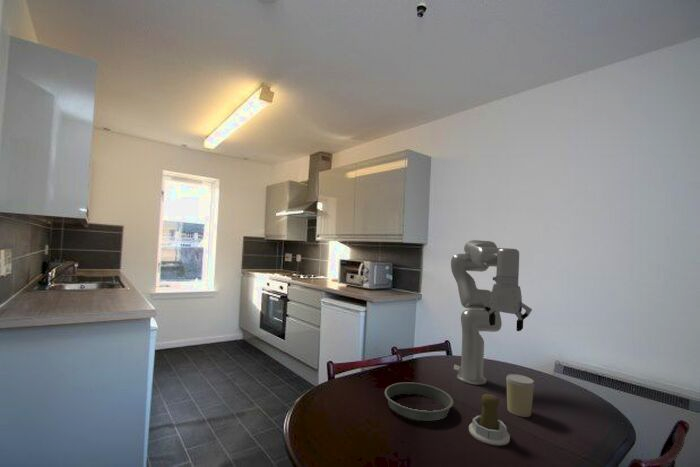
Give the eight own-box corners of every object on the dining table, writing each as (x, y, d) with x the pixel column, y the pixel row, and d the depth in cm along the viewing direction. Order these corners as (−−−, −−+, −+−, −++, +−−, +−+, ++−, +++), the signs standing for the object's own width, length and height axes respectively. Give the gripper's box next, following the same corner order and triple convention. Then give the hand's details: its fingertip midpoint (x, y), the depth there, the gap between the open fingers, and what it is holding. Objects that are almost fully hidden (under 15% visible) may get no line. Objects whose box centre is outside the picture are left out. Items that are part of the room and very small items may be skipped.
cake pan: (464, 409, 123) (465, 397, 123) (430, 433, 105) (431, 419, 105) (407, 387, 139) (408, 376, 140) (370, 405, 121) (371, 392, 122)
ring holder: (461, 432, 106) (462, 421, 106) (479, 420, 114) (479, 410, 114) (500, 450, 97) (500, 438, 98) (516, 436, 106) (516, 425, 106)
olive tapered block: (501, 437, 102) (502, 401, 103) (480, 434, 104) (481, 398, 104) (496, 427, 108) (498, 393, 109) (477, 424, 110) (478, 390, 110)
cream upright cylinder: (530, 408, 126) (531, 376, 126) (535, 420, 117) (536, 385, 118) (503, 403, 129) (504, 372, 129) (506, 414, 120) (507, 380, 121)
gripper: (480, 279, 128) (478, 324, 128) (528, 284, 116) (526, 334, 115) (488, 278, 134) (487, 322, 133) (535, 283, 121) (534, 331, 120)
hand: (505, 327), depth 124 cm, fingers open, 9 cm apart
